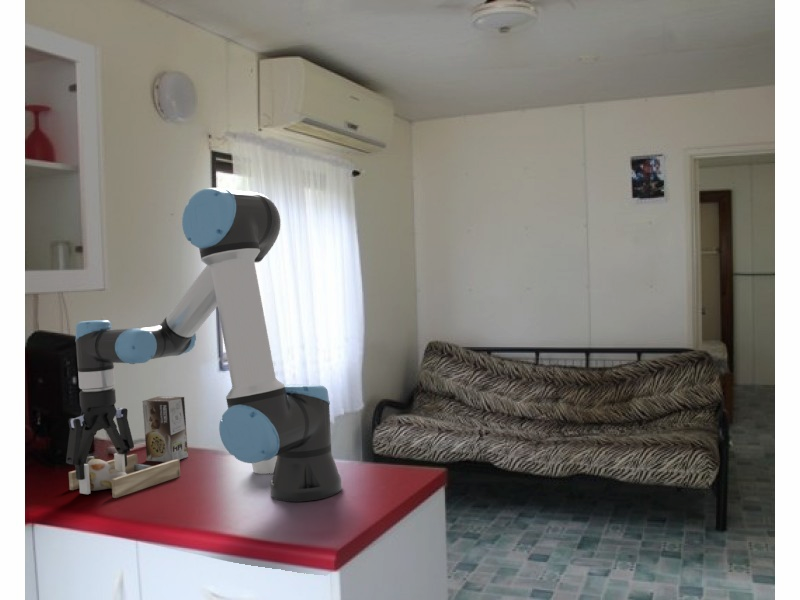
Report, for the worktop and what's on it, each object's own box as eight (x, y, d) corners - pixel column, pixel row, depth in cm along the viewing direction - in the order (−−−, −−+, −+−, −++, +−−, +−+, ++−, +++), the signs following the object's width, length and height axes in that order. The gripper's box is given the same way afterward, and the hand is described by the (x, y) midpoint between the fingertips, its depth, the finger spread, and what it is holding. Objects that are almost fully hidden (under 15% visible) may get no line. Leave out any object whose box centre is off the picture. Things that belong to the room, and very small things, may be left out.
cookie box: (189, 456, 194) (185, 396, 193) (172, 463, 188) (168, 400, 187) (162, 454, 197) (158, 395, 197) (145, 461, 192) (141, 399, 191)
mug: (125, 494, 162) (98, 458, 161) (93, 511, 165) (66, 477, 163) (140, 476, 169) (115, 442, 168) (109, 494, 172) (84, 460, 170)
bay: (180, 476, 174) (179, 459, 174) (116, 497, 159) (114, 479, 159) (134, 469, 183) (133, 453, 183) (69, 489, 168) (68, 472, 167)
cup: (291, 465, 179) (289, 417, 179) (278, 475, 170) (275, 424, 170) (257, 465, 181) (254, 417, 181) (242, 475, 172) (239, 425, 172)
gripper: (126, 380, 176) (131, 473, 177) (42, 395, 158) (49, 499, 159) (147, 381, 172) (152, 476, 173) (64, 397, 154) (70, 503, 155)
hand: (103, 487), depth 166 cm, fingers closed on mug, 9 cm apart
